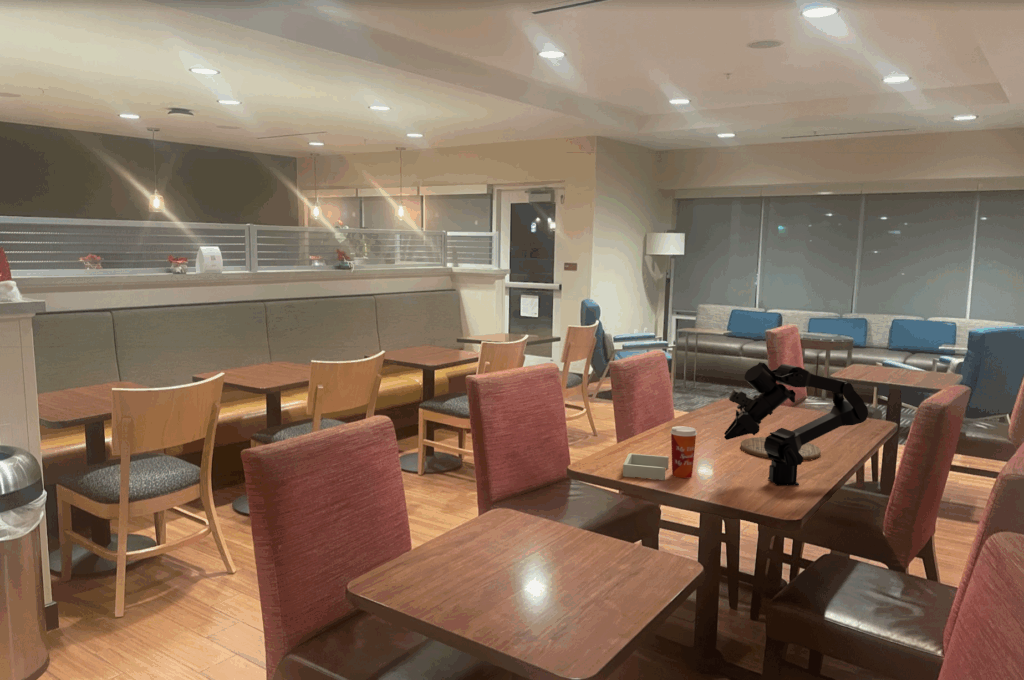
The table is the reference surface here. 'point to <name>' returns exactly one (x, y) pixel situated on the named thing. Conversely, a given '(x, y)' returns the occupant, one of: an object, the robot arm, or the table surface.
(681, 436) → the paper cup
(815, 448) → the trivet
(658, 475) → the tray
